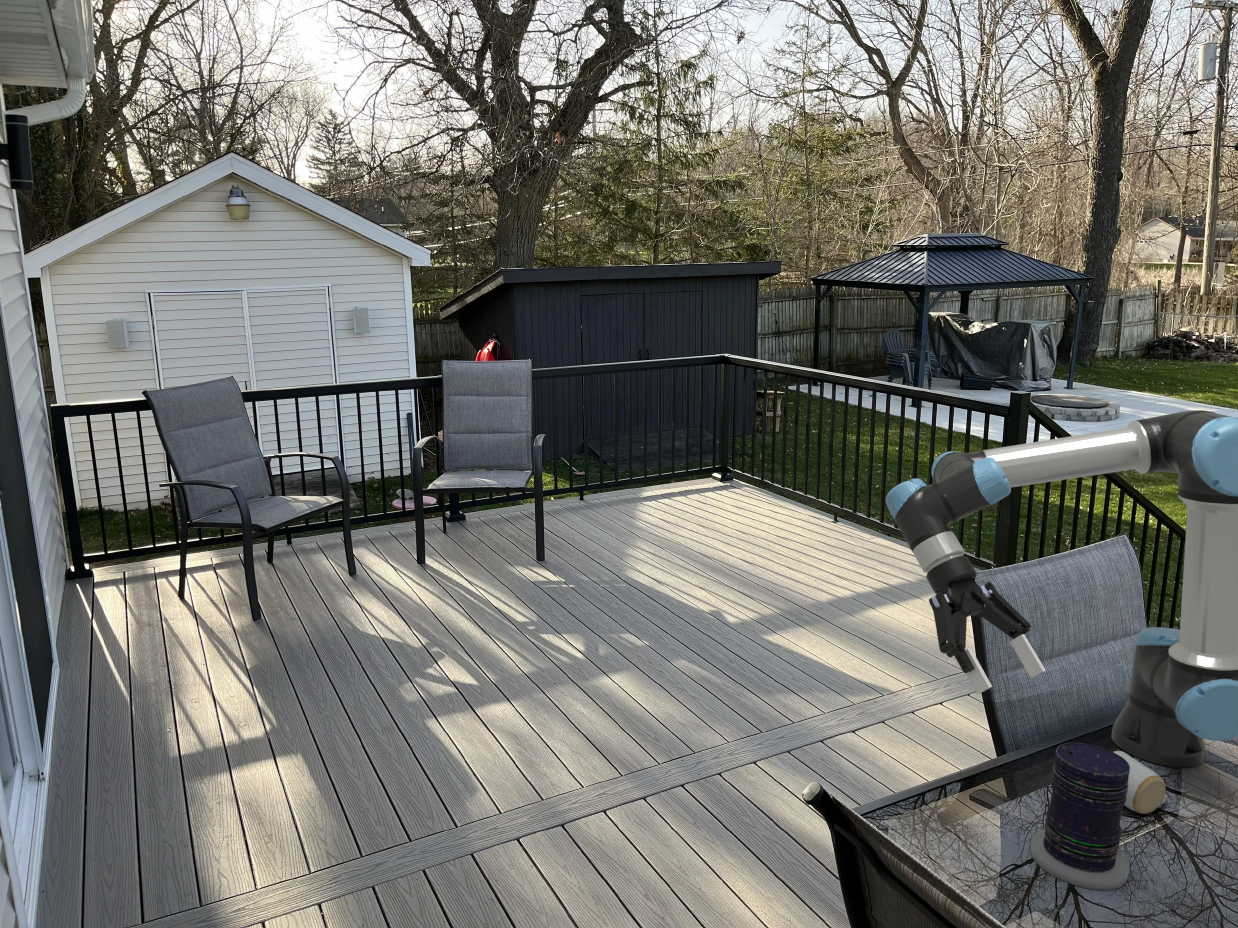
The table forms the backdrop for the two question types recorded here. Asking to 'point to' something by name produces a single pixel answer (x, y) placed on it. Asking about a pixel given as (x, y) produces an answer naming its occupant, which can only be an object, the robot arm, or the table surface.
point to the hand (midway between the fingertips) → (1012, 682)
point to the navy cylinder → (1086, 806)
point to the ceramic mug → (1143, 787)
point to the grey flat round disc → (1077, 876)
